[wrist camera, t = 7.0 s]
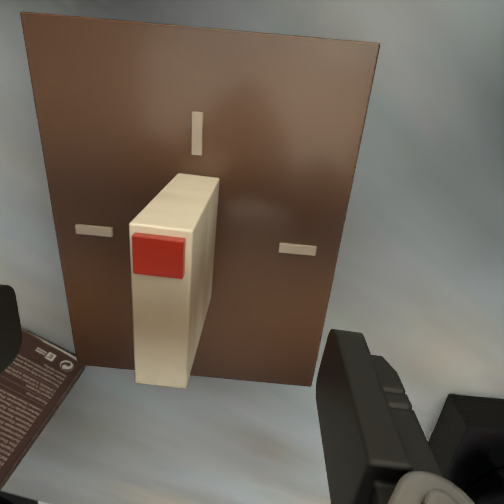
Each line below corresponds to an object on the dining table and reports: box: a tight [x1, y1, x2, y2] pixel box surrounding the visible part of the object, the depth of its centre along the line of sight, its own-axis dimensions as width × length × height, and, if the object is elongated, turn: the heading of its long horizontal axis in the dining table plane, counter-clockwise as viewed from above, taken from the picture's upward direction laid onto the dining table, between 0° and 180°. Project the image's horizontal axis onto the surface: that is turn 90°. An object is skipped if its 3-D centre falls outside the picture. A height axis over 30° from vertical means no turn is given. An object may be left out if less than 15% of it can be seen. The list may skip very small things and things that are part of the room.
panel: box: [20, 12, 380, 387], centre depth 15 cm, size 14×11×3 cm
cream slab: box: [129, 173, 220, 389], centre depth 12 cm, size 5×2×5 cm, turn 174°
